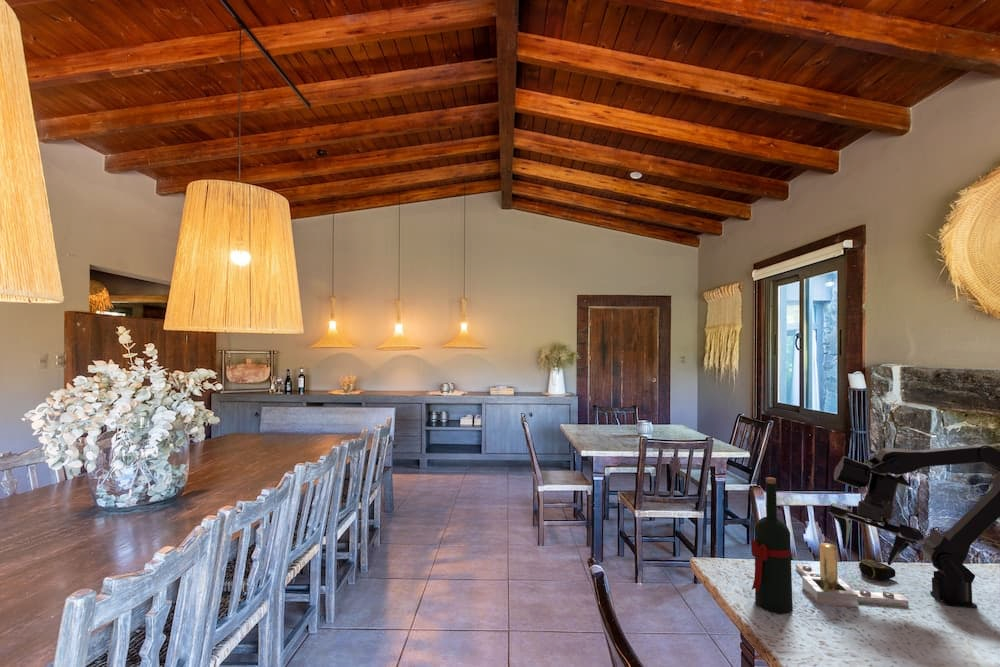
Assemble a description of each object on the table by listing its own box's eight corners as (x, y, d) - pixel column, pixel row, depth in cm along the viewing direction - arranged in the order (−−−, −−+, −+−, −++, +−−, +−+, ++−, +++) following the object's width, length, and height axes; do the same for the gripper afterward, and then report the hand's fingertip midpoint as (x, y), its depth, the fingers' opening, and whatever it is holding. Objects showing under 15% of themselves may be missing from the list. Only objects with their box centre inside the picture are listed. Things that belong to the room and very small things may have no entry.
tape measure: (897, 581, 133) (897, 566, 133) (878, 584, 131) (878, 570, 131) (871, 570, 139) (871, 557, 139) (853, 573, 137) (853, 559, 137)
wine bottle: (740, 603, 120) (738, 476, 121) (770, 595, 124) (767, 473, 125) (769, 618, 113) (766, 484, 114) (800, 610, 117) (797, 480, 118)
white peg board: (867, 574, 136) (867, 563, 136) (916, 612, 116) (915, 599, 116) (785, 568, 140) (784, 557, 140) (817, 604, 120) (817, 591, 120)
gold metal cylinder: (834, 594, 125) (832, 543, 125) (841, 601, 121) (839, 549, 122) (818, 593, 125) (816, 542, 126) (824, 600, 122) (823, 547, 122)
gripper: (830, 476, 130) (815, 535, 126) (922, 501, 116) (908, 568, 112) (841, 487, 137) (826, 543, 133) (929, 512, 122) (915, 576, 119)
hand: (865, 556), depth 124 cm, fingers open, 9 cm apart
